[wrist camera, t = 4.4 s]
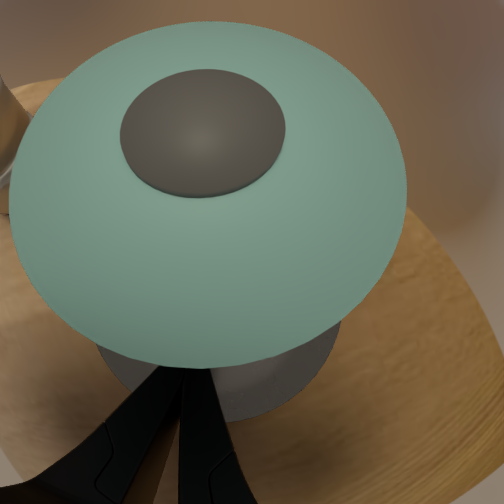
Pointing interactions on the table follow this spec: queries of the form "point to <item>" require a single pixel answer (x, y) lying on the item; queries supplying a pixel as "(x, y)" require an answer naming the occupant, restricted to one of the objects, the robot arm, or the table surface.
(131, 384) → the turntable
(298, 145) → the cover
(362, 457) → the table surface
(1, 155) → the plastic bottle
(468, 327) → the table surface
